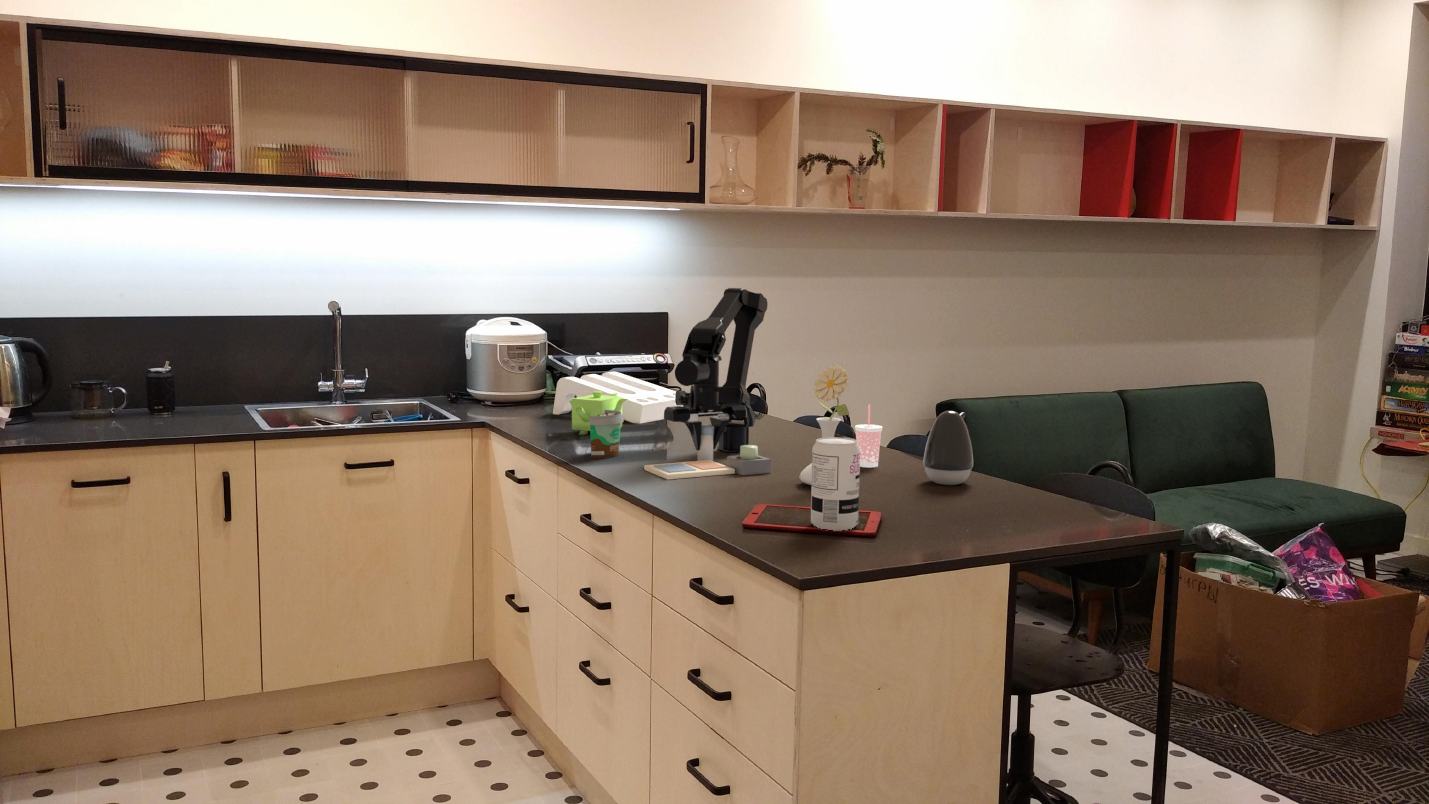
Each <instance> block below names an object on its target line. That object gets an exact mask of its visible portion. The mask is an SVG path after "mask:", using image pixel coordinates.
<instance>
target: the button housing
mask: <svg viewBox="0 0 1429 804" xmlns="http://www.w3.org/2000/svg"><path fill="white" fill-rule="evenodd" d="M726 459H727V460H726V466H728V467H731V468H733V469H735V474H737V475H740V476H752V475H763V474H771V473H772V472H771V470H772V469H771V468H772V467H771V466H772V459H771V458H768V457H764V456H762V455H759V454H758V459H754V460H743V459H740V454H739V455H728V456H726Z"/></svg>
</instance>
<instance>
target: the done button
mask: <svg viewBox="0 0 1429 804" xmlns="http://www.w3.org/2000/svg"><path fill="white" fill-rule="evenodd" d="M758 451H759V446H758V445H755V444H754V445H753V444H749V445H742V446H740V452H739V453H740V454H739V455H740V459H743V460H754V459H758V455H759V452H758Z"/></svg>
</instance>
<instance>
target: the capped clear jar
mask: <svg viewBox="0 0 1429 804" xmlns="http://www.w3.org/2000/svg"><path fill="white" fill-rule="evenodd" d="M713 434H714V425H711V424H706V423H705V424H702V427H701V445H700V450H699V451H697V458H696V459H697V460H696V461H702V460H711V461H714V449H713Z"/></svg>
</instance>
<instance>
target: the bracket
mask: <svg viewBox="0 0 1429 804" xmlns="http://www.w3.org/2000/svg"><path fill="white" fill-rule="evenodd" d="M594 391H600V392H602V395H606V396H611V395H612V394H613V393H618V394H617V396H620V397H622V399H628V400H626V401H625V402H624V403H623V404H622V415H623V420H624V421H626V422H629V423H632V424H645V423H650V422H656V421H661V420H665V419H664V411H665V409H666V407H673V406H677V405H676V401H675V394H676V392H677V391H676V390H672V389H669V388H666V387H663V386H659V385H657V384H654V383H651V382H648V381H645V380H642V379H640V378H636V377H633V376H631V375H627V374H624V373H621V372H618V371H606V372H603V373H602V374H600V375H599V374H596V373H591V374H584V375H582V376H581V377H580V378H579V377H575V376H566V377H561V378H559V380H557V382H556V389H555V395H554V401H553V402H554V403H553V409H552V410H553V411H552V415H558V416H560V415H564V414H565V415H567V414H569V412H572V405H571V404H570V402H569V401H571V400H572V399H573V398H578V397H583V396H589V395H593V393H592V392H594ZM678 406H682V407H683V405H678Z"/></svg>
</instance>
